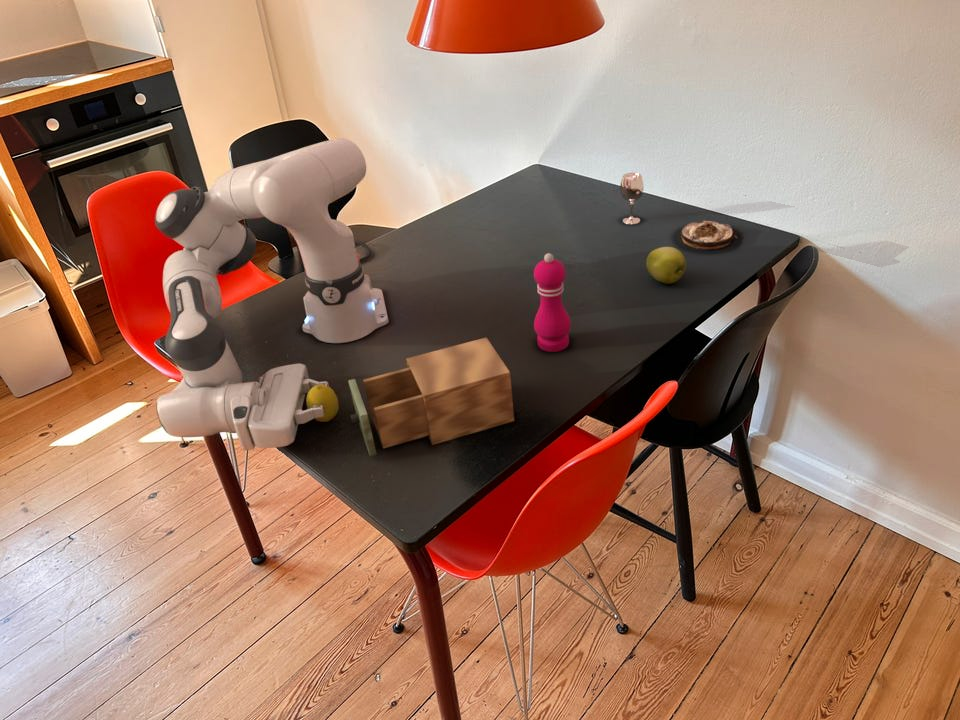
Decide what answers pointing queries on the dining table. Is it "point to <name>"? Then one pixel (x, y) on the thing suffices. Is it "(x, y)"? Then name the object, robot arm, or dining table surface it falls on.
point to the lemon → (323, 401)
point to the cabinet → (463, 389)
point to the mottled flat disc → (707, 235)
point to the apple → (666, 264)
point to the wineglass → (631, 192)
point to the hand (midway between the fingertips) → (326, 398)
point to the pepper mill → (551, 306)
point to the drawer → (390, 409)
